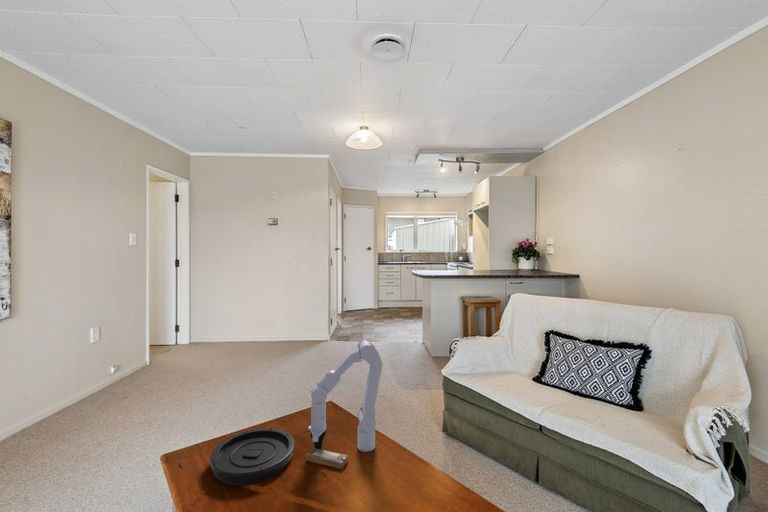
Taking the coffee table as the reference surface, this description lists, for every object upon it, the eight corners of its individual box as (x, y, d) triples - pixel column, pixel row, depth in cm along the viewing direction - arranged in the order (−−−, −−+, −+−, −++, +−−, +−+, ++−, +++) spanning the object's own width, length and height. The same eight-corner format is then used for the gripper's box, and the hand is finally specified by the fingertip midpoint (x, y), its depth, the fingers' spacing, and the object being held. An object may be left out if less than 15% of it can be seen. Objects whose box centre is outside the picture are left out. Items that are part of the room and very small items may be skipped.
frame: (313, 453, 135) (313, 446, 135) (348, 461, 130) (348, 454, 130) (306, 460, 131) (306, 453, 130) (343, 469, 126) (343, 462, 126)
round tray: (275, 492, 115) (304, 443, 145) (275, 475, 115) (304, 429, 145) (191, 486, 118) (237, 439, 148) (191, 469, 118) (237, 425, 148)
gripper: (312, 407, 143) (311, 439, 144) (304, 425, 129) (304, 461, 129) (328, 407, 144) (328, 439, 144) (323, 425, 129) (323, 460, 129)
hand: (318, 449), depth 136 cm, fingers closed
